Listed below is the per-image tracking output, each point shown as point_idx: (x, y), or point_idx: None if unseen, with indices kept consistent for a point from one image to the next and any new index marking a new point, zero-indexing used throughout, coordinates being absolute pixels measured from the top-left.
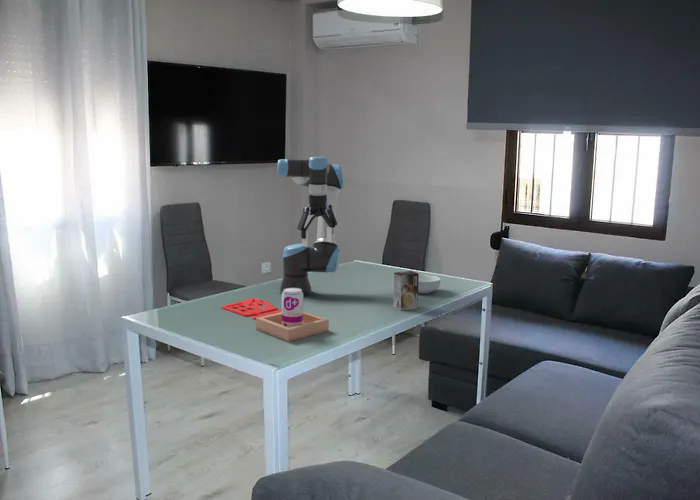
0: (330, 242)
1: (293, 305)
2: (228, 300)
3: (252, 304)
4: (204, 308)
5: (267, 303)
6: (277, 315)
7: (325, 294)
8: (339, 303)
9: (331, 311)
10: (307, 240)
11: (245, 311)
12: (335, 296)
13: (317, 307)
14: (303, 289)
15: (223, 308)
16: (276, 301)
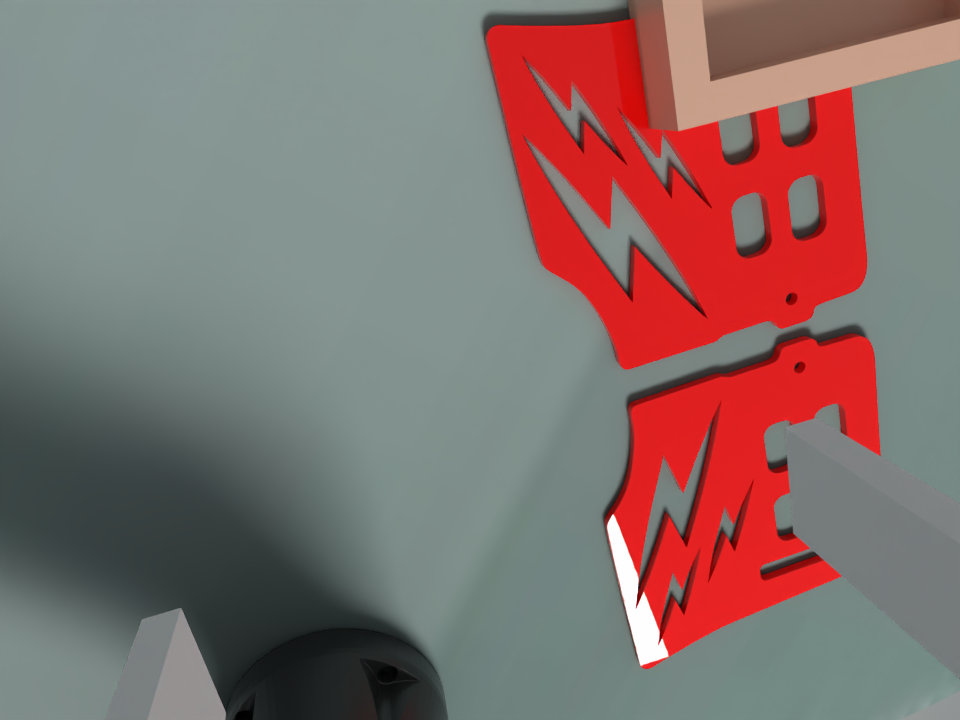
0: (185, 622)
1: None
2: (770, 671)
3: (711, 546)
4: None
5: (633, 526)
6: (869, 40)
7: None
8: (147, 375)
9: (309, 199)
10: (882, 477)
11: None
12: (94, 558)
13: (360, 342)
14: (322, 666)
15: None
16: (545, 572)
